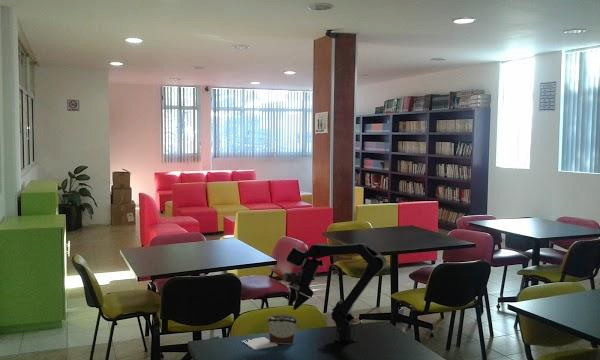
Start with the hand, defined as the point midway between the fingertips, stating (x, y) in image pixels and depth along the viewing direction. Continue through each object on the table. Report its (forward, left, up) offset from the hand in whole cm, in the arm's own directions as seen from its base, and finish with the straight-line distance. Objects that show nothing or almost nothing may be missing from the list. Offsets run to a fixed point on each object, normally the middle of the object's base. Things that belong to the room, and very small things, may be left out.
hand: (291, 307), depth 217 cm
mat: (+13, -2, -13) cm, 19 cm away
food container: (+5, +1, -13) cm, 14 cm away
